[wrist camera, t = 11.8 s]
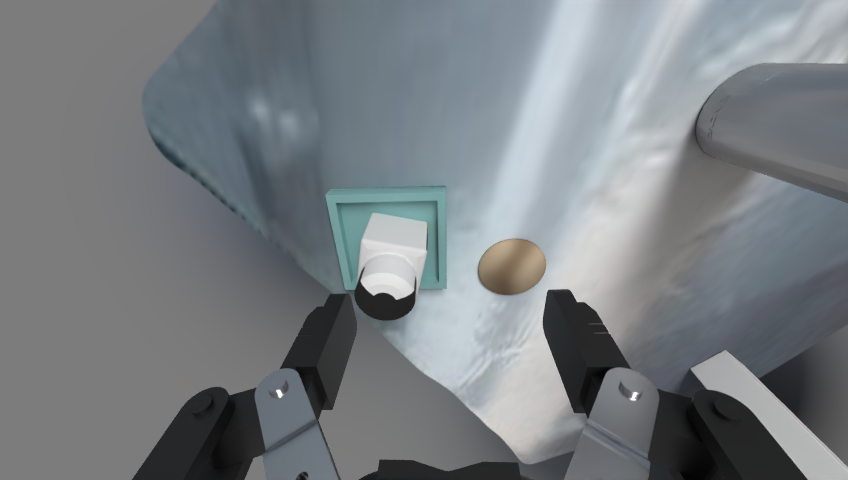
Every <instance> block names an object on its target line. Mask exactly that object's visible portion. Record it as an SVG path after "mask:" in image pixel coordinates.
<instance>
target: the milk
mask: <svg viewBox="0 0 848 480" xmlns="http://www.w3.org/2000/svg"><path fill="white" fill-rule="evenodd" d="M690 369H691V371H692V372H693V373H694V374H695V376H696V377H697V378H698V379H699V380H700V382H701V383H702V384H703V385H704V386H705V388H706V389H707V390H715V391H719V392H722V393H725V394H727V395H729V396H731V397H733V398H735V399H737V400H738V401H740V402H741V403H743V404H744V405H745V406H747V407H748V408H749V409H750V410H751V411H752V412H753V413H754V414H755V415H756V417H757V418H758V419H759V420H760V422H761V423H762V424H763V425H764V426H765V428H766V429H767V430H768V431H769V433H770V434H771V435H772V436H773V437H774V439H775V440H776V441H777V442H778V444H779V445H780V446H781V447H782V448H783V450H784V451H785V452H786V453H787V455H788V456H789V457H790V458H791V459H792V461H793V462H794V463H795V464H796V466H797V467H798V468H799V469H800V470H801V472H802V473H803V474H804V475H805V477H806V478H807V479H808V480H848V467H847V466H846V465H845V464H844V463H843V462H842V461H841V460H840V459H839V458H838V457H837V456H836V455H835V454H834V453H833V452H832V451H830V449H829V448H828V447H827V446H826V445H825V444H823V442H822V441H820V440H819V439H818V438H817V437H816V436H815V435H814V434H813V433H812V432H811V431H810V430H809V429H808V428H807V427H806V426H805V425H804V424H803V423H802V422H801V421H800V420H799V419H798V418H797V417H796V416H795V415H794V414H793V413H792V412H791V411H790V410H789V409H788V408H787V407H786V406H785V405H784V404H783V403H782V402H781V401H780V400H779V399H778V398H777V397H776V396H775V395H774V394H773V393H772V392H771V391H769V389H768V388H767V387H765V386H764V385H763V384H762V383H761V382H760V381H759V380H758V379H757V378H756V377H755V376H754V375H753V374H752V373H751V372H750V371H749V370H748V369H747V368H746V367H745V366H744V365H743V364H742V363H740V362H739V361H738V360H737V359H736V358H734V357H733V356H732V355H731V354H729V353H728V352H727V351H726V350H724V351H722V352H720V353H718V354H717V355H715V356H713V357H711V358H709V359H707V360H705V361H703V362H702V363H700V364H698V365H696V366H694V367H692V368H690Z"/></svg>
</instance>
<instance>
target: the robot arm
mask: <svg viewBox="0 0 848 480" xmlns="http://www.w3.org/2000/svg"><path fill="white" fill-rule="evenodd" d="M696 137H697V142H698V144H699V146H700V148H701V149H702V150H703V151H704V152H705V153H706V154H708V155H710V156H713V157H715V158H718V159H721V160H724V161H727V162H730V163H733V164H736V165H739V166H741V167H744V168H747V169H750V170H753V171H756V172H758V173H761V174H764V175H767V176H770V177H773V178H776V179H779V180H782V181H785V182H788V183H791V184H794V185H797V186H800V187H802V188H805V189H808V190H811V191H814V192H817V193H820V194H823V195H826V196H829V197H832V198H835V199H838V200H841V201H843V202H846V203H848V64H818V63H763V64H759V65H755V66H751V67H749V68H747V69H744V70H742V71H740V72H738V73H737V74H735V75H734V76H732V77H730V78H729V79H728V80H727V81H725V82H724V83H723V84H722V85H721V86H719V87H718V89H717V90H716V91H715V92H714V93H713V94H712V95H711V96H710V98H709V99H708V101H707V102H706V104H705V105H704V107H703V109H702V111H701V113H700V115H699V118H698V122H697V126H696ZM543 329H544V333H545V336H546V339H547V342H548V344H549V347H550V350H551V352H552V355H553V358H554V360H555V363H556V366H557V368H558V371H559V374H560V376H561V379H562V382H563V384H564V387H565V390H566V392H567V395H568V398H569V400H570V403H571V406H572V408H573V411H574V413H586V415H587V418H588V421H587V423H586V425H585V427H584V430H583V432H582V435H581V437H580V440H579V443H578V445H577V448H576V450H575V453H574V456H573V458H572V461H571V463H570V466H569V468H568V471H567V474H566V476H565V479H564V480H648V475H649V469H650V462H652V463H655V464H657V465H661V466H663V467H666V468H668V469H669V471H670V473H671V475H672V477H673V479H674V480H808V479H807V478H806V477H805V475H804V474H803V473H802V472H801V470H800V469H799V468H798V467H797V466H796V464H795V463H794V462H793V461H792V459H791V458H790V457H789V456H788V455H787V453H786V452H785V451H784V450H783V448H782V447H781V446H780V445H779V444H778V442H777V441H776V440H775V439H774V437H773V436H772V435H771V434H770V433H769V431H768V430H767V429H766V428H765V426H764V425H763V424H762V423H761V422H760V420H759V419H758V418H757V417H756V415H755V414H754V413H753V412H752V411H751V410H750V409H749V408H748V407H747V406H745V405H744V404H743V403H741V402H740V401H738V400H737V399H735V398H733V397H731V396H729V395H727V394H725V393H722V392H719V391H715V390H700V391H698V392H697V393H696V394H695V395H694V397H693V398H688V397H684V396H681V395H677V394H673V393H669V392H665V391H662V390H659V389H657V388H656V387H655V386H654V385H653V383H652V382H651V381H650V380H649V379H647V378H646V377H645V376H643V375H642V374H640V373H638V372H636V371H634V370H632V369H631V368H630V366H629V364H628V363H627V361H626V360H625V358H624V356H623V355H622V353H621V351H620V350H619V348H618V347H617V345H616V343H615V342H614V340H613V338H612V337H611V335H610V334H609V333H608V330H607V329H606V327H605V325H603V322H602V320H601V319H600V317H599V316H598V314H597V312H596V311H595V310H593V309H592V308H591V307H590V306H589V305H587V304H586V303H585V302H577V301H576V300H575V298H574V296H573V294H572V292H571V291H570V290H569V289H561V290H548V292H547V297H546V303H545V309H544V315H543ZM356 331H357V321H356V317H355V313H354V308H353V304H352V300H351V296H350V294H330V295H329V297H328V299H327V301H326V303H325V305H324V307H317V308H316V309H315V310H313V312H311V313H310V314H309V315H308V317H307V318H306V320H305V322H304V324H303V328H301V330H300V332H299V334H298V336H297V337H296V339H295V341H294V343H293V345H292V347H291V349H290V351H289V353H288V355H287V356H286V358H285V360H284V362H283V364H282V366H281V368H280V369H279V370H276V371H274V372H272V373H271V374H269V375H268V376H266V377H265V378H264V379H263V380H262V381H261V382H260V384H259V385H258V387H257V388H254V389H250V390H247V391H244V392H240V393H237V394H233V395H229V394H228V392H227V391H226V390H225V389H224V388H221V387H212V388H209V389H206V390H203V391H201V392H199V393H198V394H196V395H195V396H193V397H192V398H191V399H190V400H188V402H186V404H185V405H184V406H183V407H182V408H181V410H180V411H179V413H178V414H177V416H176V417H175V418H174V420H173V421H172V423H171V424H170V426H169V427H168V428H167V430H166V431H165V433H164V434H163V436H162V437H161V439H160V440H159V442H158V443H157V445H156V446H155V447H154V449H153V450H152V452H151V453H150V455H149V456H148V458H147V459H146V460H145V462H144V463H143V465H142V466H141V467H140V469H139V470H138V472H137V473H136V475H135V476H134V478H133V479H132V480H244V479H245V477H246V475H247V472H248V470H249V467H250V465H251V463H252V460H253V458H255V457H258V456H260V455H263V463H264V468H265V473H266V478H267V480H341V478H340V475H339V473H338V470H337V468H336V465H335V463H334V460H333V457H332V455H331V452H330V450H329V447H328V444H327V442H326V439H325V437H324V434H323V432H322V429H321V426H320V424H319V421H318V419H319V417H320V414H321V411H322V410H332V409H333V406H334V403H335V400H336V397H337V393H338V390H339V387H340V384H341V381H342V378H343V374H344V371H345V368H346V365H347V362H348V358H349V355H350V352H351V349H352V346H353V343H354V340H355V336H356ZM359 480H533V479H531V478H529V477H527V476H524V475H521V474H520V471H519V466H518V463H509V462H481V463H477V464H474V465H470V466H467V467H464V468H460V469H456V470H453V471H443V470H440V469H437V468H434V467H431V466H428V465H425V464H422V463H419V462H416V461H413V460H380V461H379V467H378V471H376V472H373V473H371V474H368V475H366V476H364V477H363V478H361V479H359Z"/></svg>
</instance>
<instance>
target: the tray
mask: <svg viewBox="0 0 848 480" xmlns="http://www.w3.org/2000/svg"><path fill="white" fill-rule="evenodd" d="M325 196H326V201H327V205H328V210H329V215H330V220H331V224H332V229H333V234H334V239H335V243H336V248H337V253H338V258H339V262H340V267H341V272H342V277H343V281H344V286H345V290H355V288H356V285H357V275H358V265H359V255H360V244H361V239H362V237H363V234H364V232H365V230H366V227H367V225H368V222H369V220H370V217H371V215H372V213H380V214H386V215H391V216H397V217H402V218H408V219H413V220H419V221H424V222H427V223H428V246H427V256H426V260H425V265H424V269H423V274H422V278H421V282H420V287H419V289H447V276H446V186H424V187H388V188H351V189H330V190H329V191H328V193H327V194H326V195H325Z"/></svg>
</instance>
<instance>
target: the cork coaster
mask: <svg viewBox="0 0 848 480" xmlns="http://www.w3.org/2000/svg"><path fill="white" fill-rule="evenodd" d="M545 269H546V260H545V257H544V254H543V253H542V251H541V250H540V248H539V247H538V246H536V245H535V244H534V243H532V242H530V241H527V240H523V239H508V240H504V241H501V242H498V243H496V244H495V245H493V246H492V247H490V248H489V249H488V250H487V251H486V252H485V253H484V254H483V256H482V258H481V260H480V263H479V276H480V279H481V281H482V283H483V284H484V285H485V286H486V287H487V288H488V289H490V290H491V291H493V292H496V293H499V294H504V295H513V294H519V293H522V292H525V291H527V290H529V289H531V288H532V287H534V286H535V285H536V284H537V283H538V282H539V281H540V280H541V278H542V277H543V275H544V273H545Z"/></svg>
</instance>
